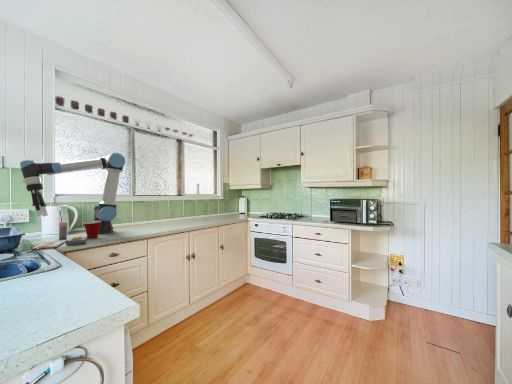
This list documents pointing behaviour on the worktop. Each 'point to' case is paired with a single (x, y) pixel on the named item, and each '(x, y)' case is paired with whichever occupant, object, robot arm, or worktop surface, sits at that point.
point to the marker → (62, 230)
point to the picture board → (49, 244)
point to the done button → (77, 237)
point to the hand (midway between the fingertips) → (42, 215)
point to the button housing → (77, 241)
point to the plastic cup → (92, 228)
